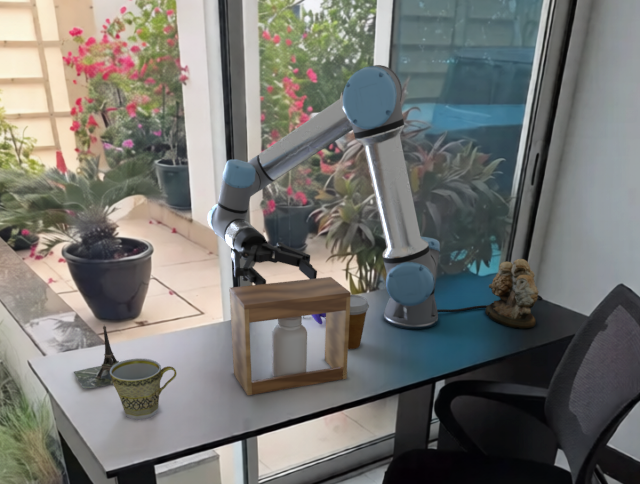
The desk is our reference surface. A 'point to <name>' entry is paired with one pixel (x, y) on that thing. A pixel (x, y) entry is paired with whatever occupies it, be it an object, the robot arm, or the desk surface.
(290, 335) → the pill bottle
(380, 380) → the desk surface
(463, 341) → the desk surface
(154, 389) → the ceramic cup
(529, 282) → the owl figurine
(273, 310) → the open wooden shelf
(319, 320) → the game controller
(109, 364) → the eiffel tower souvenir
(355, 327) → the disposable coffee cup
